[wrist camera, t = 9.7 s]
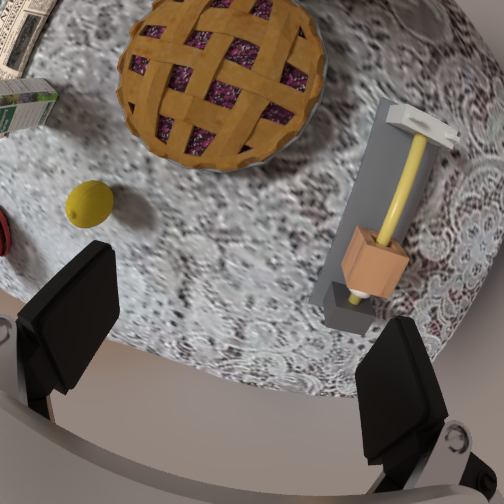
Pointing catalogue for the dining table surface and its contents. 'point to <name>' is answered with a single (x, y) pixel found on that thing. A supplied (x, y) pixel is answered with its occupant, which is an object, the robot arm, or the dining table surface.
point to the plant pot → (4, 236)
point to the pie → (221, 80)
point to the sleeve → (373, 264)
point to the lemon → (89, 204)
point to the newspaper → (20, 34)
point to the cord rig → (381, 203)
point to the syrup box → (25, 103)
